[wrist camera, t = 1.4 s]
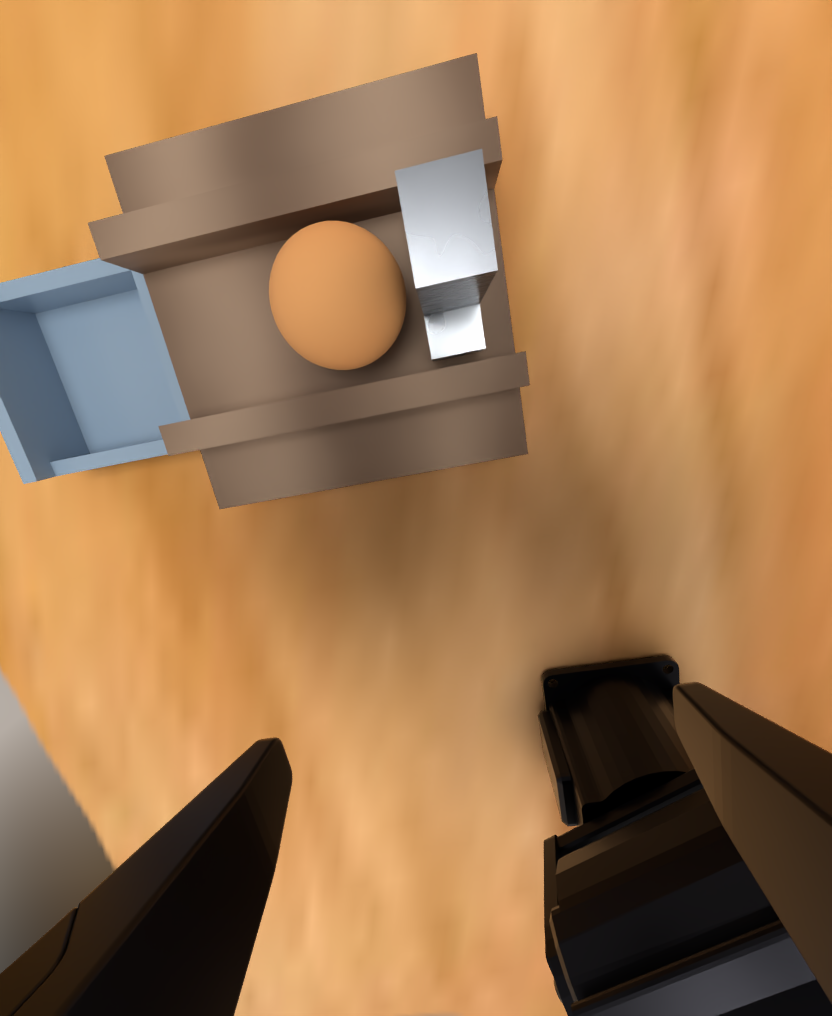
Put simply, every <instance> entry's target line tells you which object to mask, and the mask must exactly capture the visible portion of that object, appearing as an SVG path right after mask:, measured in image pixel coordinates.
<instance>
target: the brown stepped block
mask: <svg viewBox="0 0 832 1016" xmlns="http://www.w3.org/2000/svg"><path fill="white" fill-rule="evenodd" d="M479 149H482V153H483V161H484V168H485V176H486V184H487V191H488V199H489V206H490V214H491V222H492V229H493V237H494V244H495V252H496V260H497V267H498V271H497V273H496V275H495V276H494V278H493V280H492V282H491V284H490V286H489V288H488V289H487V291H486V293H485V295H484V297H483V299H482V301H481V302H480V311H481V318H482V325H483V332H484V339H485V346H486V348H485V349H484V350H482V351H480V352H477V353H472V354H467V355H462V356H457V357H452V358H447V359H443V360H438V361H432V358H431V353H430V347H429V341H428V336H427V330H426V324H425V318H424V314H423V311H422V308H421V305H420V301H419V298H418V295H417V292H416V288H415V283H414V277H413V271H412V266H411V260H410V254H409V249H408V243H407V238H406V232H405V226H404V221H403V215H402V210H401V204H400V198H399V193H398V187H397V181H396V176H395V171H396V170H400V169H404V168H408V167H412V166H415V165H419V164H423V163H427V162H431V161H435V160H439V159H443V158H447V157H451V156H455V155H459V154H463V153H467V152H471V151H475V150H479ZM105 159H106V162H107V165H108V168H109V172H110V175H111V178H112V181H113V184H114V187H115V190H116V193H117V196H118V199H119V202H120V205H121V208H122V211H123V214H120V215H116V216H112V217H108V218H104V219H101V220H97V221H93V222H89V223H88V225H89V228H90V231H91V234H92V237H93V240H94V242H95V245H96V248H97V251H98V254H99V257H100V260H102V261H105V262H108V263H111V264H114V265H117V266H120V267H123V268H126V269H129V270H132V271H135V272H138V273H141V274H143V276H144V279H145V282H146V285H147V288H148V291H149V294H150V297H151V300H152V303H153V306H154V310H155V313H156V316H157V319H158V322H159V325H160V328H161V331H162V334H163V337H164V340H165V343H166V346H167V349H168V352H169V356H170V359H171V362H172V365H173V368H174V371H175V374H176V377H177V380H178V383H179V386H180V389H181V392H182V395H183V398H184V402H185V405H186V408H187V411H188V414H189V417H190V420H186V421H181V422H176V423H171V424H167V425H162V426H158V427H159V430H160V433H161V436H162V439H163V441H164V444H165V447H166V450H167V453H168V456H170V455H176V454H181V453H186V452H191V451H196V450H200V451H201V454H202V457H203V460H204V463H205V466H206V469H207V472H208V475H209V478H210V481H211V484H212V487H213V490H214V494H215V497H216V500H217V503H218V506H219V509H224V508H230V507H235V506H241V505H246V504H252V503H257V502H263V501H269V500H274V499H280V498H285V497H291V496H296V495H302V494H308V493H313V492H319V491H324V490H330V489H335V488H341V487H346V486H352V485H358V484H363V483H369V482H374V481H380V480H385V479H391V478H397V477H402V476H408V475H413V474H419V473H424V472H430V471H435V470H441V469H447V468H452V467H458V466H463V465H469V464H474V463H480V462H486V461H491V460H497V459H502V458H508V457H513V456H519V455H524V454H528V450H527V442H526V434H525V427H524V419H523V411H522V403H521V395H520V387H523V386H528V385H530V384H529V375H528V367H527V359H526V351H525V352H520V353H515V348H514V340H513V333H512V325H511V317H510V309H509V301H508V293H507V286H506V278H505V270H504V262H503V254H502V246H501V239H500V231H499V223H498V215H497V207H496V199H495V192H494V187H495V184H496V180H497V177H498V173H499V170H500V166H501V163H502V153H501V145H500V137H499V128H498V120H497V116H496V117H492V118H489V119H485V113H484V105H483V98H482V90H481V82H480V74H479V66H478V58H477V53H475V54H472V55H468V56H464V57H461V58H457V59H453V60H450V61H446V62H443V63H439V64H435V65H432V66H428V67H424V68H421V69H417V70H414V71H410V72H406V73H403V74H399V75H396V76H392V77H388V78H385V79H381V80H377V81H374V82H370V83H367V84H363V85H359V86H356V87H352V88H349V89H345V90H341V91H338V92H334V93H330V94H327V95H323V96H320V97H316V98H312V99H309V100H305V101H302V102H298V103H294V104H291V105H287V106H283V107H280V108H276V109H273V110H269V111H265V112H262V113H258V114H254V115H251V116H247V117H244V118H240V119H236V120H233V121H229V122H226V123H222V124H218V125H215V126H211V127H207V128H204V129H200V130H197V131H193V132H189V133H186V134H182V135H179V136H175V137H171V138H168V139H164V140H160V141H157V142H153V143H150V144H146V145H142V146H139V147H135V148H131V149H128V150H124V151H121V152H117V153H113V154H110V155H106V156H105ZM323 221H343V222H348V223H352V224H355V225H357V226H359V227H362V228H364V229H366V230H367V231H369V232H371V233H372V234H374V235H375V236H376V237H377V238H378V239H380V240H381V241H382V242H383V243H384V245H385V246H386V247H387V248H388V249H389V251H390V252H391V253H392V255H393V256H394V258H395V260H396V261H397V263H398V265H399V267H400V270H401V273H402V275H403V279H404V283H405V289H406V313H405V318H404V322H403V325H402V328H401V331H400V333H399V335H398V337H397V339H396V340H395V342H394V343H393V345H392V346H391V347H390V348H389V349H388V351H387V352H386V353H385V354H384V355H382V356H381V357H380V358H379V359H377V360H376V361H374V362H372V363H370V364H368V365H366V366H363V367H360V368H356V369H351V370H334V369H328V368H325V367H321V366H319V365H316V364H314V363H312V362H310V361H308V360H307V359H305V358H303V357H302V356H301V355H300V354H298V353H297V352H296V351H295V350H294V349H293V348H292V347H291V346H290V345H289V344H288V342H287V341H286V340H285V339H284V337H283V336H282V334H281V332H280V331H279V329H278V327H277V325H276V323H275V320H274V317H273V314H272V311H271V306H270V300H269V280H270V273H271V270H272V266H273V263H274V261H275V259H276V256H277V254H278V253H279V251H280V249H281V248H282V246H283V245H284V244H285V243H286V241H287V240H288V239H289V238H290V237H291V236H293V235H294V234H295V233H296V232H298V231H299V230H301V229H303V228H305V227H307V226H309V225H312V224H315V223H318V222H323Z"/></svg>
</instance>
